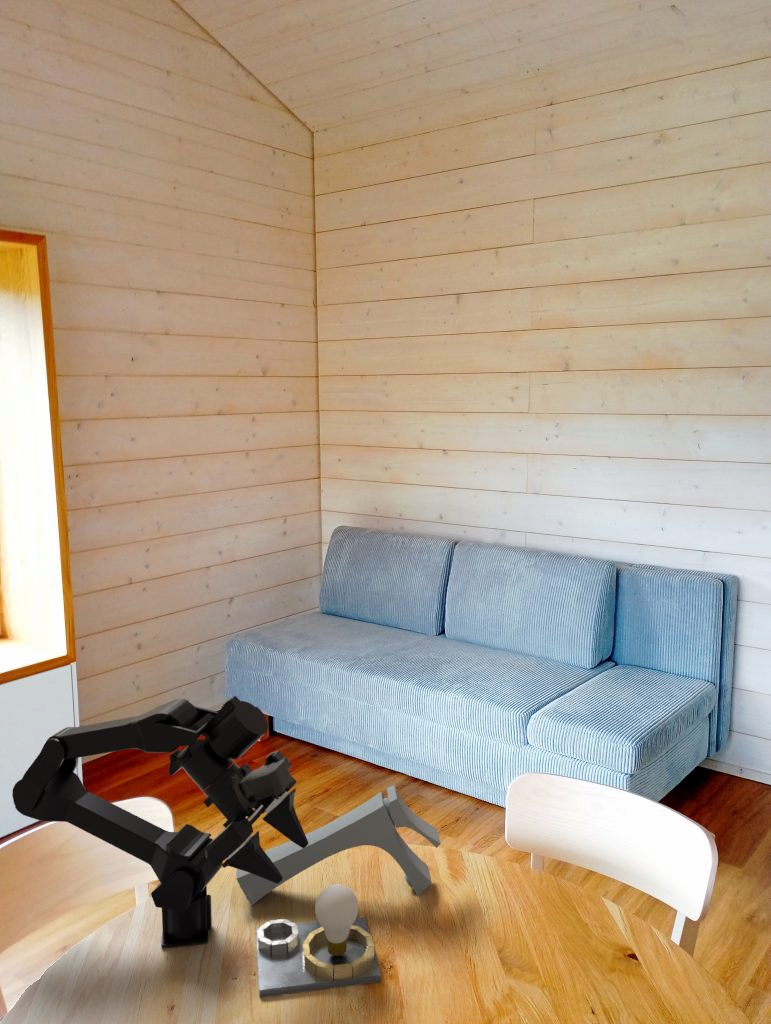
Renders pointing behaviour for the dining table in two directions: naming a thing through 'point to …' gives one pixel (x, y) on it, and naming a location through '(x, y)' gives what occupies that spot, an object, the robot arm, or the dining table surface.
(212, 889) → the dining table surface
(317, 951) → the plate
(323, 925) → the light bulb
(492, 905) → the dining table surface
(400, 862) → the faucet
